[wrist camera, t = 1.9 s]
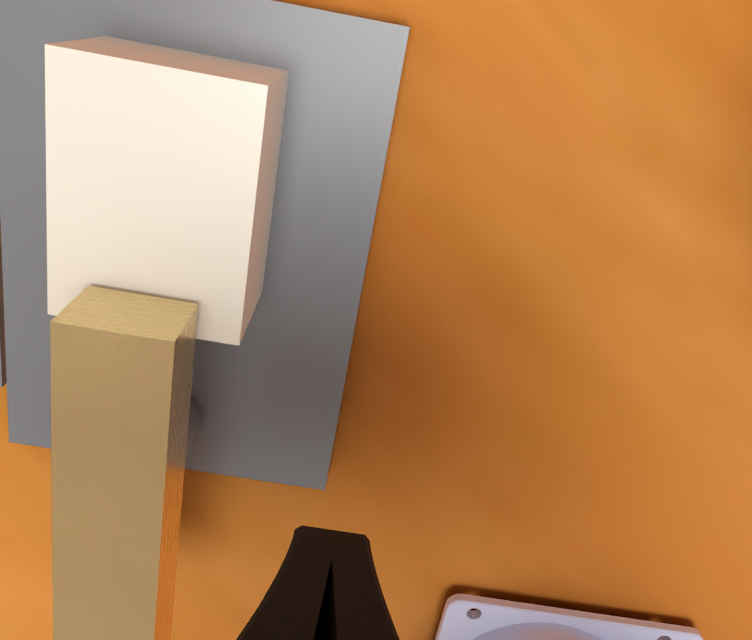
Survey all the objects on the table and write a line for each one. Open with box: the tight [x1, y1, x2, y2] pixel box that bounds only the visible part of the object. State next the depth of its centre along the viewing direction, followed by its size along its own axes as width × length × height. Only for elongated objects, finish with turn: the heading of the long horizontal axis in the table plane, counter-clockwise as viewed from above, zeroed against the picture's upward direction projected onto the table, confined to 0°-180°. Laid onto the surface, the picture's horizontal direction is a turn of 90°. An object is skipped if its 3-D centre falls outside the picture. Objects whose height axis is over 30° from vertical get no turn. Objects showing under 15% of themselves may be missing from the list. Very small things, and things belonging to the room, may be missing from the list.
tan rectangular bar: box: [50, 286, 198, 640], centre depth 18 cm, size 2×11×2 cm, turn 170°
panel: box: [0, 0, 410, 490], centre depth 19 cm, size 10×14×5 cm
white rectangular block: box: [45, 36, 289, 346], centre depth 17 cm, size 4×6×4 cm
